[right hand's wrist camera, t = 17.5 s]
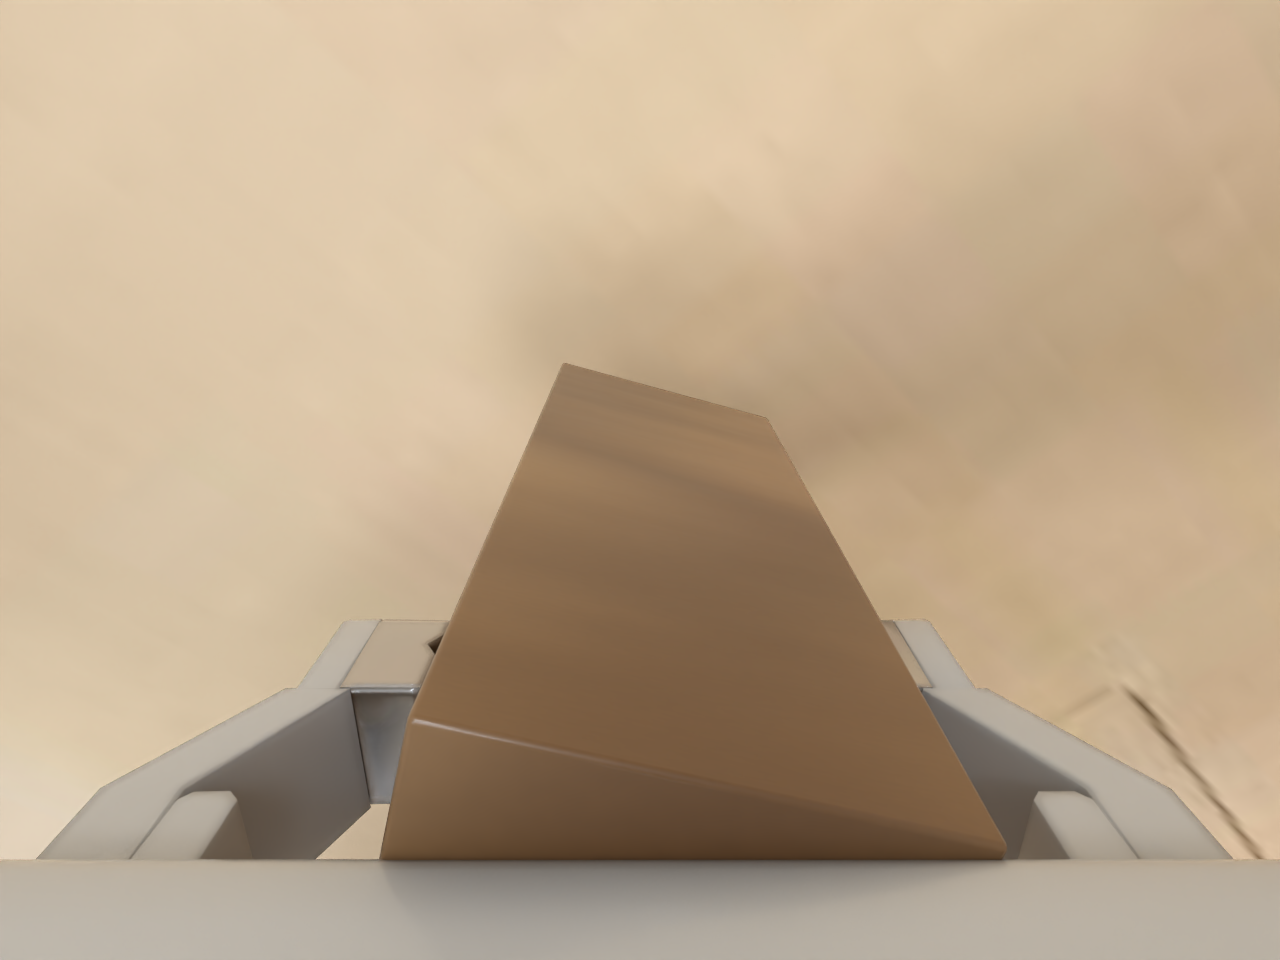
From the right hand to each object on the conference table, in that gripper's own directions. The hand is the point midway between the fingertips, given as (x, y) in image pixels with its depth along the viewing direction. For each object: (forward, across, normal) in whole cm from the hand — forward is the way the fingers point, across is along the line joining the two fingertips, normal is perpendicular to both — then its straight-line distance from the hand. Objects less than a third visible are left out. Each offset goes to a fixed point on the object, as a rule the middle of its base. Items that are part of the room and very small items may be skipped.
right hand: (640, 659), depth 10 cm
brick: (+6, 0, 0) cm, 6 cm away
